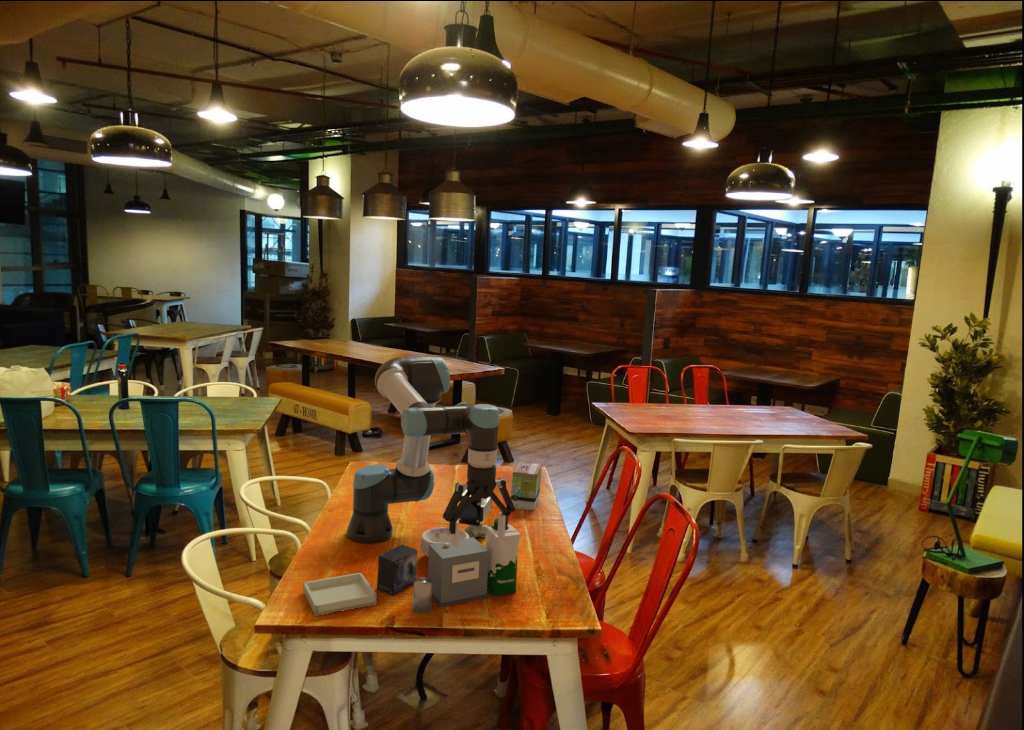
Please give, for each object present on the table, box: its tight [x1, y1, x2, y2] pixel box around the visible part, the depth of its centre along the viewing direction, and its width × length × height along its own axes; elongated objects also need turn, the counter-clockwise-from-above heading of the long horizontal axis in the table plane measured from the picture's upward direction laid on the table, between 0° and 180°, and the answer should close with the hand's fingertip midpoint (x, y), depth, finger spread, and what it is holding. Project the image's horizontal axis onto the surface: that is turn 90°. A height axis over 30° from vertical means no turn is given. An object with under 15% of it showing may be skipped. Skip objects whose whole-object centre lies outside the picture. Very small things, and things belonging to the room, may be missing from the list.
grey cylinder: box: [412, 576, 433, 614], centre depth 190 cm, size 5×5×8 cm
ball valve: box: [458, 489, 493, 539], centre depth 240 cm, size 18×8×18 cm, turn 168°
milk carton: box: [485, 518, 521, 597], centre depth 202 cm, size 9×9×20 cm
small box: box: [376, 543, 418, 596], centre depth 201 cm, size 11×6×10 cm, turn 148°
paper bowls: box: [420, 527, 470, 559], centre depth 222 cm, size 15×15×8 cm
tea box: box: [510, 461, 543, 511], centre depth 275 cm, size 15×10×15 cm
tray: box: [302, 572, 378, 617], centre depth 193 cm, size 14×16×3 cm
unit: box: [427, 537, 490, 609], centre depth 198 cm, size 11×15×15 cm
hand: (478, 541), depth 186 cm, fingers open, 13 cm apart
